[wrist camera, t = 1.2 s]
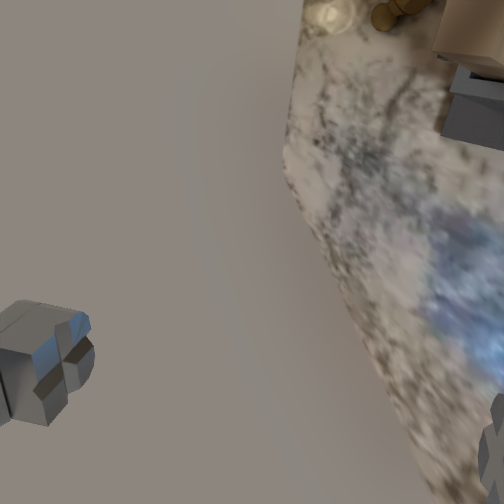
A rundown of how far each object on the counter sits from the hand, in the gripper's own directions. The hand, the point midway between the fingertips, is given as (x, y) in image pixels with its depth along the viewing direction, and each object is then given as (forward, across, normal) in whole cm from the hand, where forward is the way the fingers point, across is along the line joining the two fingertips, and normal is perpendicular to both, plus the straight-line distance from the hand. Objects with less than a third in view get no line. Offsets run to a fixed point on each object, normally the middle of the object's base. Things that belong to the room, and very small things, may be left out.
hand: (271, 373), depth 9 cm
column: (+40, -14, -3) cm, 43 cm away
